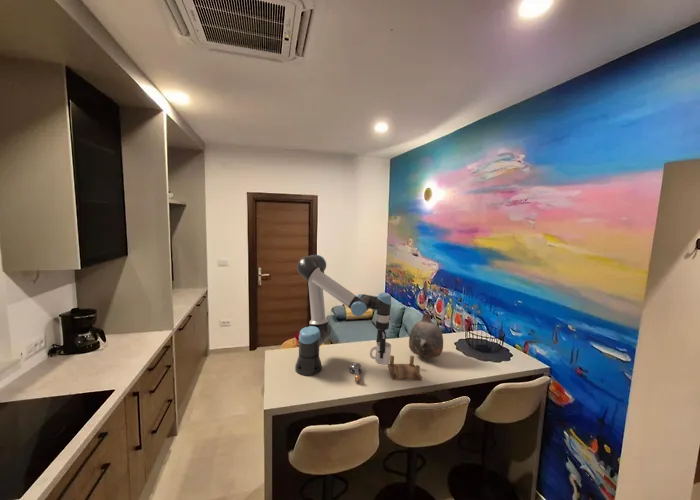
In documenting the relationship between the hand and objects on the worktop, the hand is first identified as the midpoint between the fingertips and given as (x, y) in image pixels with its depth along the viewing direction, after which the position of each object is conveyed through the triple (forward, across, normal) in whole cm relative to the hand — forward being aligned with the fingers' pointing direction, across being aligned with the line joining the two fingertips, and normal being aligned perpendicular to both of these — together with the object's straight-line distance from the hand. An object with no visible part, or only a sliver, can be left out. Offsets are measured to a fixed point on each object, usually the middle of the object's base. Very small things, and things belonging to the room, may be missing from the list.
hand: (379, 359), depth 175 cm
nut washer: (+8, +1, +13) cm, 15 cm away
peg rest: (+7, 0, -15) cm, 17 cm away
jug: (+7, +21, -34) cm, 40 cm away
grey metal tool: (+7, -5, +13) cm, 16 cm away
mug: (+2, 0, 0) cm, 2 cm away
